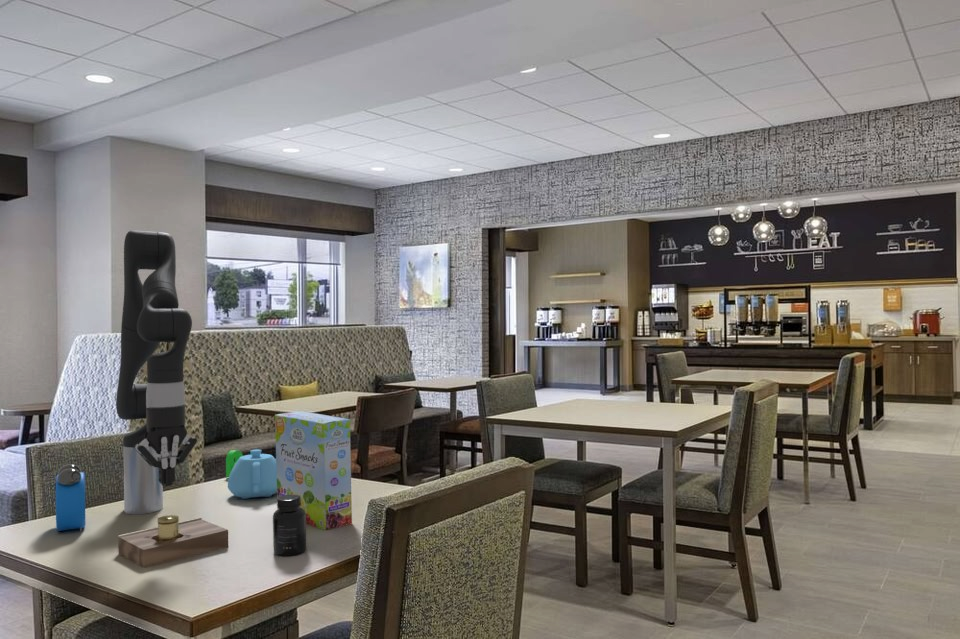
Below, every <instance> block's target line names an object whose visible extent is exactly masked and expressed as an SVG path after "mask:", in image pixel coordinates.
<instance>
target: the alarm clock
mask: <svg viewBox="0 0 960 639" xmlns="http://www.w3.org/2000/svg"><path fill="white" fill-rule="evenodd" d="M85 475H86V474H85V473H84V472H82V469H81V467H80V466H78V465H76V464H73V463H68V464H65V465H62V466H61V467H60V468H59V469H58V472H57V475H56V476H55V482H54V491H55V526H56V527H55V528H56V531H57V532H61V531H62V532H63V531H70V530H77V529H79V531H80V532H82V530H83V528H85V527H86V478H85Z"/></svg>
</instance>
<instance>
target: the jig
mask: <svg viewBox="0 0 960 639" xmlns="http://www.w3.org/2000/svg"><path fill="white" fill-rule="evenodd" d="M178 524H179V538H178V539H174V540H169V541H159V542H158V526H156V527H150V528H146V529H145V528H144V529H142V530H137V531H132V532H127V533H122V534H120V535H119V534H118V535H117V539H118V541H117V542H118V544H117V548H118V555H119V556H121V557H123V558H125V559H127V560H129V561H130V562H132V563H134V564H136V565H138V566H139V567H142V568H144V569H145V568H149V567H152V566H157V565H161V564H164V563H165V564H166V563H169V562H172V561H173V562H174V561H176V560H177V561H178V560H180V559H185V558H189V557H192V556H193V557H194V556H197V555H200V554H201V555H202V554H205V553H209V552H214V551H219V550H221V549H225V548H229V529H228V528H224V527H222V526H219V525H217V524H215V523H212V522H211V521H210V522H209V521H208V520H205V519H202V517H197V518H193V519H188V520H183V521H178Z"/></svg>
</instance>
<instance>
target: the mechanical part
mask: <svg viewBox="0 0 960 639" xmlns="http://www.w3.org/2000/svg"><path fill="white" fill-rule="evenodd" d="M242 456H244V455H243V452H242V451H241V450H235V449H232V450H230V451H229V452H228V453H227V454H226V458H225V473H226V474H225V477H226V478H229V476H230V473H231V471H232V469H233V467H234V465H235V464H236V462H237V460H238V459H239V458H240V457H242Z"/></svg>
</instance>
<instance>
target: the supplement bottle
mask: <svg viewBox="0 0 960 639" xmlns="http://www.w3.org/2000/svg"><path fill="white" fill-rule="evenodd" d="M276 500H277V502H276V508H277V507H278V510H277V509H276V510H275V511H274V512H273V514H272V538H273V539H272V540H273V546H272V547H273V555H274V556H277V557H282V558H283V557H284V558H288V557H289V558H291V557H296V556H300V555H303V554H305V553H306V552H307V547H308V546H307V543H308V542H307V524H306V512H305V511H304V509H302V508H301V507H300V506H301V497H300V496H299V495H284V496H280V497H278V498H277V497H276Z"/></svg>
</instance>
